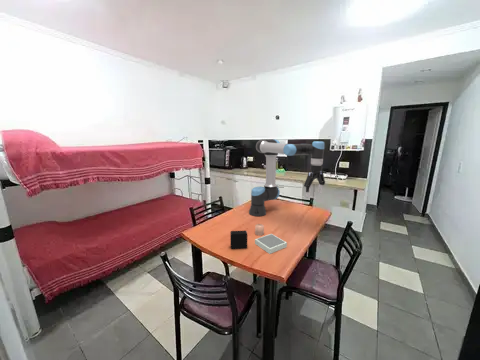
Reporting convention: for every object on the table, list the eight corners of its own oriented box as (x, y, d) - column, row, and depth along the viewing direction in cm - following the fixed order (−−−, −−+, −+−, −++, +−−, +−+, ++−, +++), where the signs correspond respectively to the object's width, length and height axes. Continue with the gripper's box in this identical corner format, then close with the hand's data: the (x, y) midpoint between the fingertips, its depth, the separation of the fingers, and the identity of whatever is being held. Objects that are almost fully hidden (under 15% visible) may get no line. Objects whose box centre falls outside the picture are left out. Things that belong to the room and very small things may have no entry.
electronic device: (230, 245, 125) (230, 230, 123) (246, 245, 126) (246, 230, 124) (230, 249, 121) (230, 234, 119) (247, 248, 122) (247, 233, 120)
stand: (254, 243, 128) (255, 238, 127) (271, 237, 136) (271, 233, 135) (269, 254, 117) (269, 248, 116) (286, 247, 124) (286, 242, 123)
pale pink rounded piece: (253, 233, 142) (253, 225, 141) (259, 231, 145) (260, 223, 144) (258, 236, 137) (258, 228, 136) (265, 234, 140) (265, 226, 139)
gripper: (309, 166, 125) (306, 199, 129) (332, 164, 139) (329, 193, 143) (299, 165, 131) (297, 196, 135) (322, 162, 145) (319, 191, 149)
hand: (313, 195), depth 139 cm, fingers open, 13 cm apart
